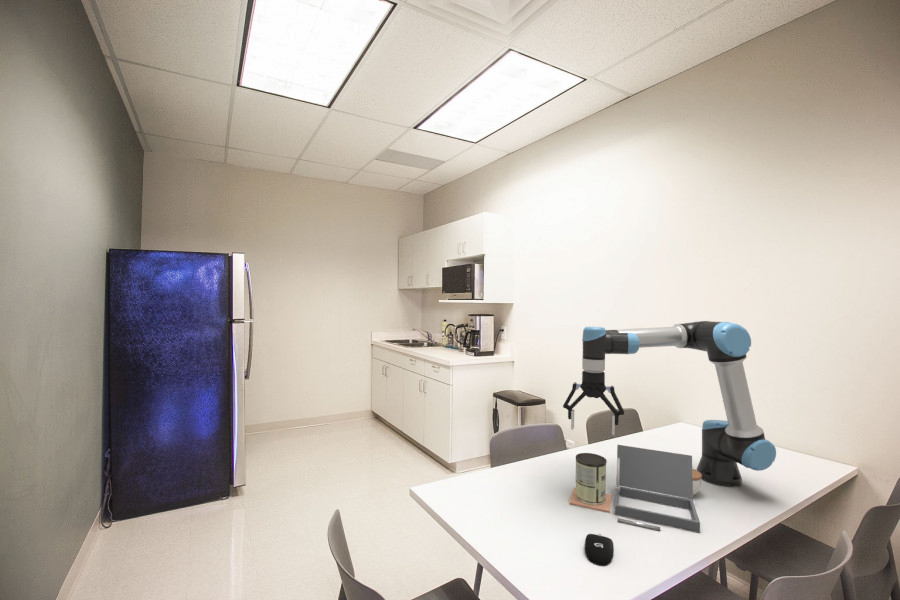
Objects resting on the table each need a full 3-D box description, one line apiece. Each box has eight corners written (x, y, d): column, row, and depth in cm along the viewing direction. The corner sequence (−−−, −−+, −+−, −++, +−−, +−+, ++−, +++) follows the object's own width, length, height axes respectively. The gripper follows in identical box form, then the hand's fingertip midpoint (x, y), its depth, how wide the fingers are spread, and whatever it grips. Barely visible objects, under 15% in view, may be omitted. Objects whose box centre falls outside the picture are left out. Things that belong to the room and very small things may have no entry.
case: (690, 503, 142) (691, 455, 142) (699, 532, 124) (700, 477, 124) (615, 489, 152) (616, 443, 152) (613, 514, 134) (614, 462, 134)
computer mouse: (583, 562, 109) (583, 547, 109) (586, 539, 120) (586, 525, 120) (613, 570, 106) (613, 554, 106) (613, 545, 117) (613, 531, 117)
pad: (611, 496, 146) (611, 494, 146) (609, 512, 134) (609, 511, 134) (574, 488, 152) (574, 487, 152) (569, 504, 140) (569, 502, 140)
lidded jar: (697, 488, 154) (697, 463, 154) (705, 501, 144) (705, 475, 144) (665, 484, 157) (666, 459, 157) (670, 496, 147) (671, 470, 147)
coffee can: (576, 489, 150) (577, 450, 150) (606, 495, 146) (607, 455, 146) (572, 501, 141) (573, 460, 141) (604, 508, 136) (605, 466, 136)
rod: (660, 529, 125) (660, 526, 125) (660, 531, 124) (660, 528, 124) (617, 520, 130) (617, 517, 130) (617, 522, 129) (617, 518, 129)
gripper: (632, 372, 142) (631, 433, 142) (558, 366, 152) (558, 423, 152) (632, 375, 135) (631, 439, 135) (555, 369, 145) (554, 429, 145)
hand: (592, 431), depth 143 cm, fingers open, 13 cm apart
